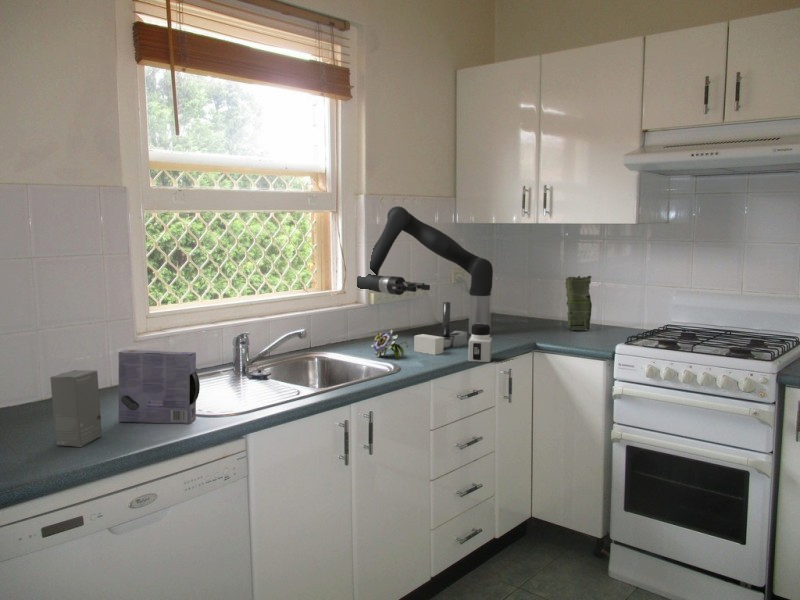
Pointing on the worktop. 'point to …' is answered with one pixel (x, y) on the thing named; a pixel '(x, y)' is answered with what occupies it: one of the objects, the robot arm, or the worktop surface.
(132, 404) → the cake pan box
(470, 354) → the container
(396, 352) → the passion flower
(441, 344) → the socket block
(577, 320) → the pouch
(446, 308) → the tube
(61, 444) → the skincare box
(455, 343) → the sleeve
